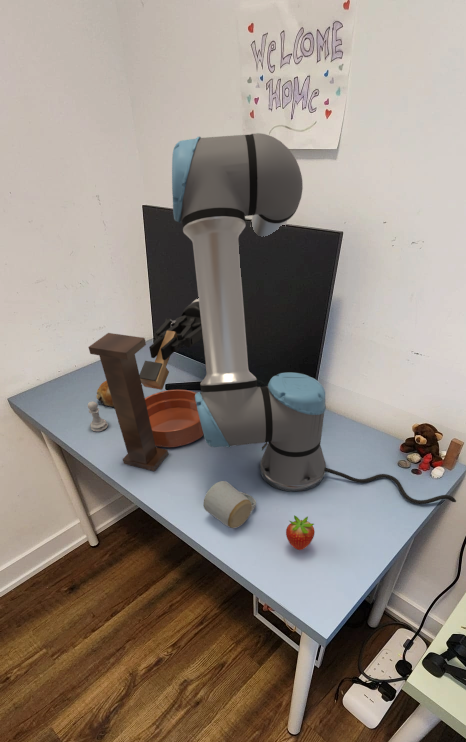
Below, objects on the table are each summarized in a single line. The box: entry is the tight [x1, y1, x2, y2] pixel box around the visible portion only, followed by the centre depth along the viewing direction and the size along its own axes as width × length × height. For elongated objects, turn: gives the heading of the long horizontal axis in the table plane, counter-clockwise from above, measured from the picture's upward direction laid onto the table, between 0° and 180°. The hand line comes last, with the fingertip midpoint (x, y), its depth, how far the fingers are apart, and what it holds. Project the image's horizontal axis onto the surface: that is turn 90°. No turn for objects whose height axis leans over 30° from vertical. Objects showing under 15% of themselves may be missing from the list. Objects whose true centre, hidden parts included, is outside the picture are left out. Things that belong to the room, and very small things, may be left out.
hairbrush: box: [139, 331, 177, 391], centre depth 102 cm, size 5×15×4 cm
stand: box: [88, 332, 169, 472], centre depth 96 cm, size 9×7×30 cm
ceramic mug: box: [202, 480, 257, 529], centre depth 89 cm, size 11×8×8 cm
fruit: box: [285, 515, 316, 551], centre depth 82 cm, size 5×5×8 cm
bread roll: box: [96, 379, 114, 408], centre depth 127 cm, size 10×10×8 cm
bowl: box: [145, 389, 204, 448], centre depth 115 cm, size 20×20×6 cm
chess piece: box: [87, 401, 109, 432], centre depth 115 cm, size 5×5×8 cm
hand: (157, 353), depth 100 cm, fingers closed on hairbrush, 2 cm apart
